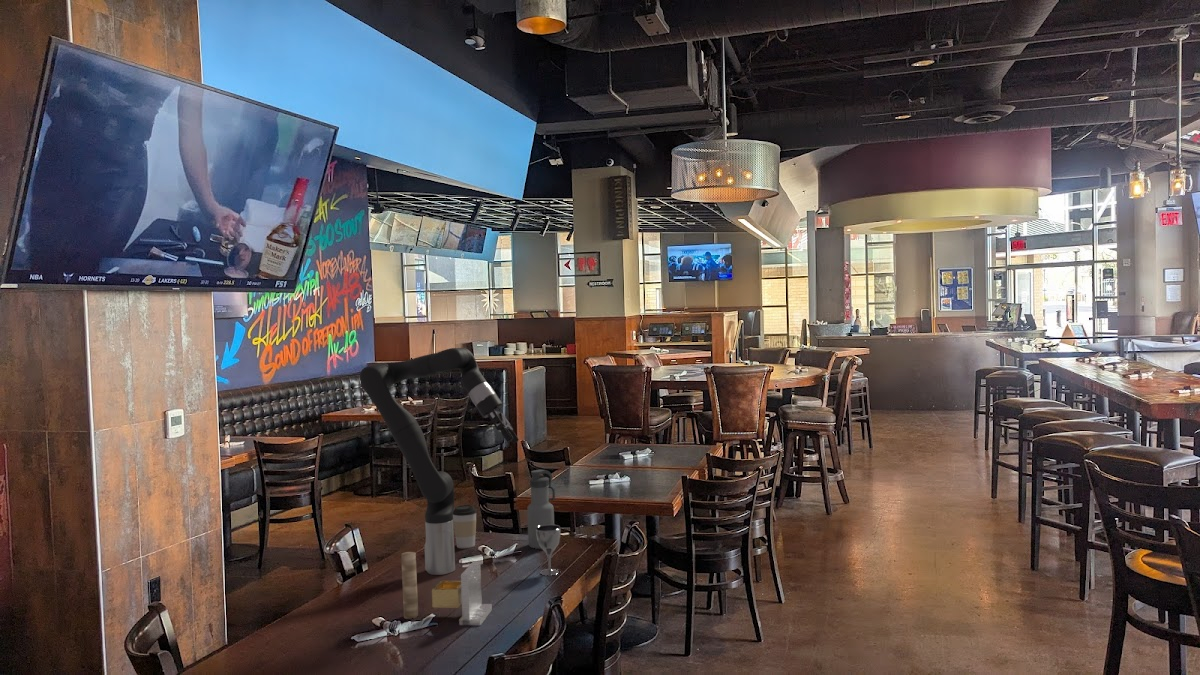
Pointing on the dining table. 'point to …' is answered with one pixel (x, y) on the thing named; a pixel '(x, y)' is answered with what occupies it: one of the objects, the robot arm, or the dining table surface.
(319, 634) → the dining table surface
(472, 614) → the cup bracket
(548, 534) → the wine glass
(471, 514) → the coffee cup
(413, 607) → the rail post
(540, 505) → the water bottle
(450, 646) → the dining table surface
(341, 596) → the dining table surface
